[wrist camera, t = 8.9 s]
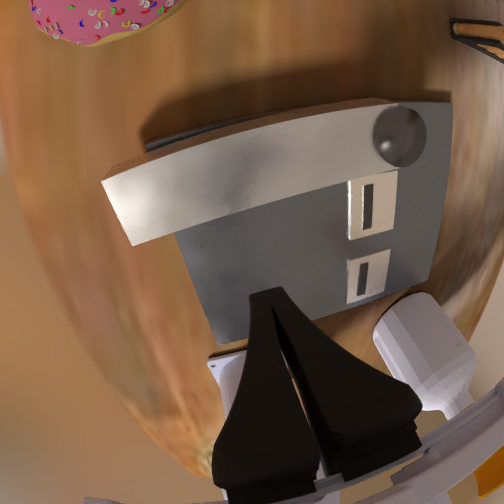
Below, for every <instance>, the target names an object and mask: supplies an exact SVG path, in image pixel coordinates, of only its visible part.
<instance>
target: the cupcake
mask: <svg viewBox="0 0 504 504" xmlns="http://www.w3.org/2000/svg"><path fill="white" fill-rule="evenodd" d="M186 1H187V0H29V6H30V10H31V13H32V16H33V20H34V22H35V24H36V26H37V27H38V28H39V29H40V30H41V31H42V32H44V33H46V34H48V35H51V36H53V37H54V38H55V39H58V38H61V39H64V40H67V41H70V42H73V43H77V44H80V45H84V46H90V47H93V46H98V45H102V44H105V43H108V42H112V41H115V40H119V39H122V38H125V37H128V36H131V35H134V34H136V33H139V32H142V31H144V30H146V29H149V28H151V27H153V26H155V25H156V24H158V23H160V22H162V21H164V20H165V19H167V18H168V17H170V16H171V15H173V14H174V13H175V12H176V11H178V10H179V9H180V8H181V7H182V5H183V4H184V3H185V2H186Z"/></svg>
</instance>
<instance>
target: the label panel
mask: <svg viewBox="0 0 504 504" xmlns="http://www.w3.org/2000/svg"><path fill="white" fill-rule="evenodd" d="M389 101H392V102H396V103H398V105H400V106H403V107H407V108H410V109H413V110H415V111H416V112H417V113H418V114H419V115H420V116H421V117H422V119H423V120H424V123H425V126H426V131H427V140H426V145H425V148H424V150H423V153H422V154H421V156H420V157H419V159H418V160H417V161H416V162H414V163H413V164H412V165H410V166H407V167H403V168H399V169H394V170H390V171H386V172H382V173H378V174H374V175H370V176H366V177H362V178H358V179H354V180H350V181H346V182H342V183H338V184H335V185H331V186H327V187H323V188H320V189H316V190H312V191H309V192H305V193H301V194H298V195H294V196H291V197H287V198H284V199H280V200H277V201H273V202H270V203H266V204H263V205H259V206H256V207H253V208H249V209H246V210H243V211H239V212H236V213H233V214H229V215H226V216H223V217H220V218H217V219H213V220H210V221H207V222H204V223H201V224H198V225H194V226H191V227H188V228H185V229H182V230H179V231H176V232H174V234H175V236H176V239H177V242H178V245H179V247H180V250H181V253H182V256H183V258H184V261H185V264H186V266H187V269H188V272H189V274H190V277H191V279H192V282H193V284H194V287H195V290H196V292H197V295H198V297H199V300H200V302H201V305H202V307H203V310H204V312H205V314H206V317H207V319H208V322H209V324H210V326H211V329H212V331H213V334H214V336H215V338H216V341H217V343H218V345H221V344H226V343H230V342H234V341H238V340H242V339H246V338H249V328H250V302H249V295H250V294H252V293H256V292H260V291H264V290H267V289H271V288H275V287H278V286H281V287H283V288H284V290H285V291H286V293H287V294H288V295H289V297H290V298H291V299H292V300H293V302H294V303H295V304H296V305H297V306H298V308H299V309H300V310H301V311H302V312H303V313H304V314H305V315H306V316H307V317H308V318H309V319H310V320H311V321H312V320H315V319H319V318H322V317H325V316H328V315H331V314H335V313H338V312H341V311H344V310H347V309H350V308H353V307H356V306H359V305H362V304H365V303H368V302H371V301H374V300H376V299H379V298H382V297H385V296H388V295H390V294H393V293H396V292H398V291H401V290H404V289H406V288H409V287H412V286H414V285H417V284H419V283H422V282H424V281H427V280H428V277H429V273H430V269H431V265H432V261H433V257H434V253H435V249H436V244H437V240H438V235H439V230H440V225H441V220H442V215H443V209H444V203H445V197H446V190H447V182H448V174H449V165H450V154H451V141H452V121H453V103H450V102H447V101H443V100H416V99H397V100H389ZM327 104H329V103H327ZM317 105H323V104H317ZM317 105H309V106H301V107H293V108H286V109H280V110H273V111H267V112H262V113H256V114H251V115H245V116H240V117H235V118H231V119H226V120H221V121H217V122H213V123H208V124H204V125H200V126H196V127H192V128H188V129H185V130H181V131H177V132H174V133H170V134H167V135H163V136H160V137H156V138H153V139H150V140H148V141H147V143H146V144H145V145H146V148H147V151H148V152H150V151H152V150H155V149H158V148H161V147H163V146H166V145H169V144H172V143H175V142H178V141H181V140H184V139H187V138H190V137H193V136H196V135H199V134H202V133H205V132H209V131H212V130H215V129H219V128H222V127H226V126H229V125H233V124H237V123H240V122H244V121H248V120H252V119H256V118H260V117H264V116H268V115H273V114H277V113H282V112H286V111H291V110H296V109H301V108H306V107H312V106H317Z"/></svg>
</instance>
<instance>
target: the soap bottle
mask: <svg viewBox="0 0 504 504" xmlns="http://www.w3.org/2000/svg"><path fill="white" fill-rule="evenodd" d="M373 340H374V343H375V345H376V347H377V349H378V350H379V352H380V354H381V356H382V357H383V359H384V361H385V363H386V365H387V366H388V368H389V370H390V372H391V374H392V375H393V377H394V378H395V379H397V380H400V381H402V382H404V383H407V384H409V385H410V387H411V388H412V389H413V390H414V392H415V393H416V394H417V396H418V397H419V399H420V400H421V402H422V404H423V408H422V410H426V411H430V410H441V411H443V413H444V414H445V416H446V418H447V420H450V419H451V418H453V417H455V416H456V415H458V414H459V413H461V412H462V411H464V410H465V409H467V408H468V407H469V406H471V405H472V404H474V401H473V399H472V397H471V396H470V394H469V392H468V388H469V384H470V382H471V380H472V378H473V375H474V373H475V368H476V364H477V361H476V357H475V353H474V351H473V349H472V348H471V346H470V345H469V344H468V342H467V341H466V339H465V338H464V337H463V335H462V334H461V333H460V331H459V330H458V329H457V327H456V326H455V325H454V323H453V322H452V321H451V320H450V318H449V317H448V316H447V314H446V313H445V312H444V311H443V309H442V308H441V307H440V306H439V304H438V303H437V302H436V301H435V299H434V298H433V297H432V296H431V295H430V294H428V293H424V292H419V293H414V294H411V295H409V296H407V297H405V298H403V299H401V300H400V301H399V302H397V303H396V304H395V305H393V306H392V307H391V308H390V309H389V310H388V311H387V312H386V313H385V314H384V315H383V316H382V317H381V318H380V320H379V321H378V323H377V324H376V326H375V328H374V332H373ZM473 472H474V474H475V477H476V479H477V483H478V496H479V498H484V497H486V496H487V495H489V494H490V493H492V492H493V491H495V490H496V489H498V488H499V487H501V486H502V485H504V446H501V447H500V448H499V449H498V450H497V451H496V452H495V453H494V454H493V455H492V456H491V457H489V458H488V459H487V460H486V461H485V462H484V463H483V464H481V465H480V466H479V467H478V468H477V469H475V470H474V471H473Z"/></svg>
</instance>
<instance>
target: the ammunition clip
mask: <svg viewBox="0 0 504 504" xmlns="http://www.w3.org/2000/svg"><path fill="white" fill-rule="evenodd" d="M451 34H452V38H453V39H456V40H458V41H460V42H462V43H465V44H467V45H469V46H471V47H473V48H475V49H477V50H479V51H481V52H483V53H485V54H487V55H489V56H490V57H492V58H494V59H496V60H498V61H499V62H501V63H503V64H504V26H503V25H502V24H500V23H499V22H493V21H483V20H471V19H451Z"/></svg>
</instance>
